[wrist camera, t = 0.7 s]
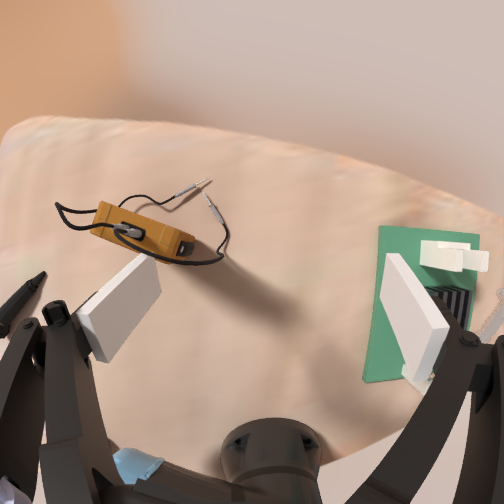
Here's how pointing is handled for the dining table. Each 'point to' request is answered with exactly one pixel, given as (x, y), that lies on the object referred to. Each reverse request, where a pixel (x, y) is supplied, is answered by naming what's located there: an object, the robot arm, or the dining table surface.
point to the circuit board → (429, 274)
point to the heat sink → (454, 300)
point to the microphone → (17, 303)
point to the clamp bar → (491, 321)
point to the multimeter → (143, 231)
